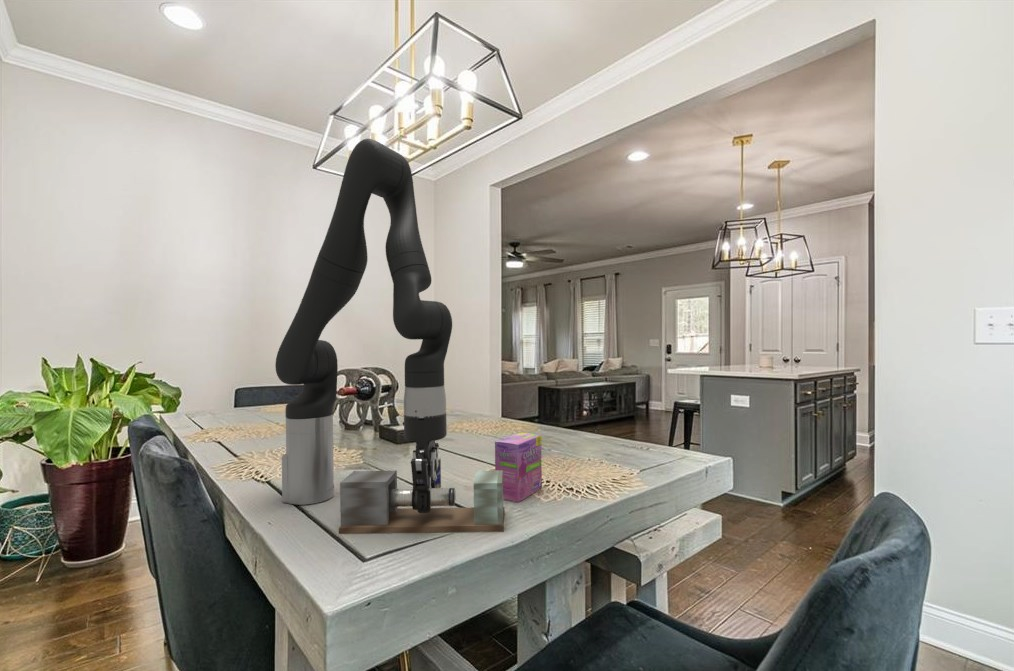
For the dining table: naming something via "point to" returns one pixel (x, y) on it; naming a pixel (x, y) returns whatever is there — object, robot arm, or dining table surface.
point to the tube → (410, 497)
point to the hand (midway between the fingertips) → (426, 506)
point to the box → (519, 465)
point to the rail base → (372, 514)
